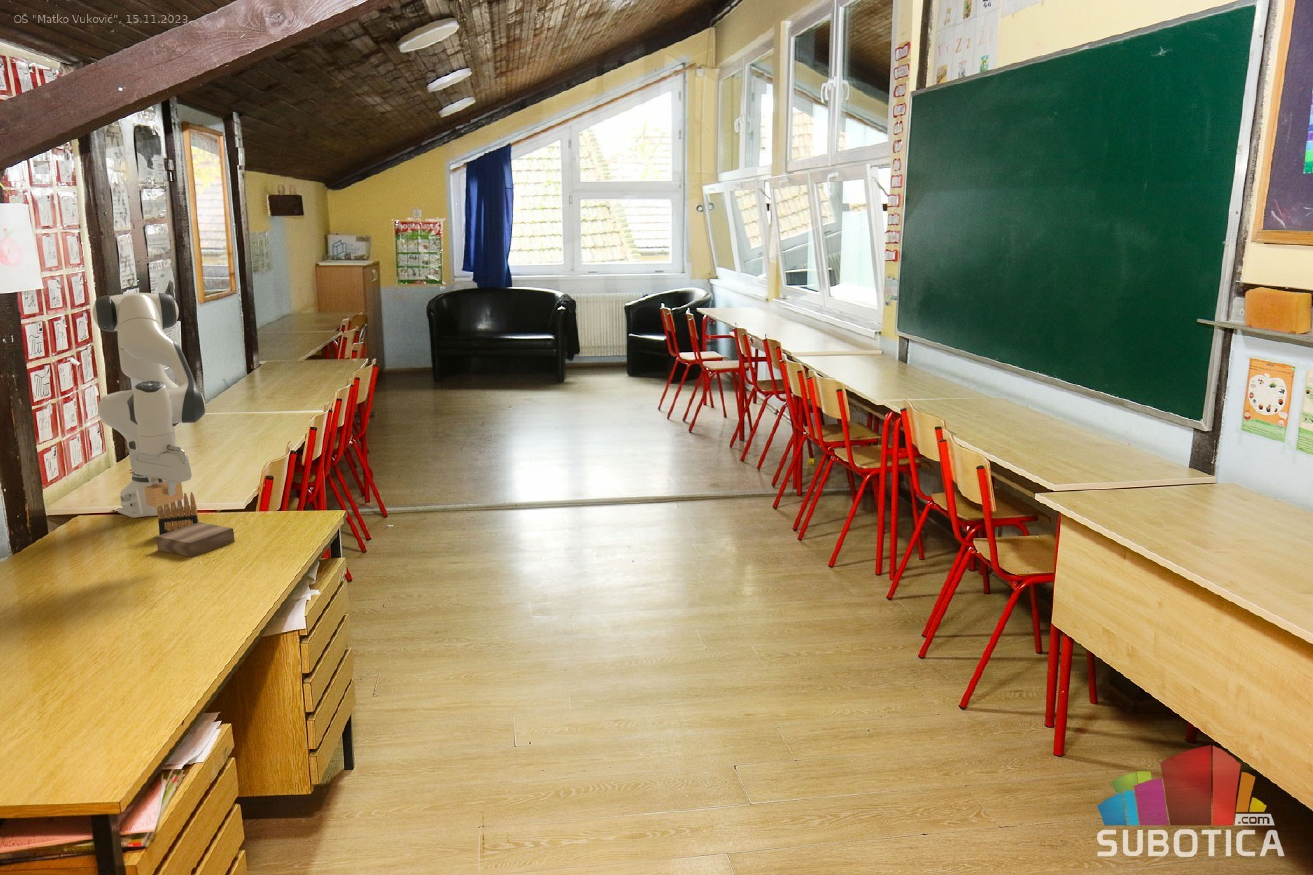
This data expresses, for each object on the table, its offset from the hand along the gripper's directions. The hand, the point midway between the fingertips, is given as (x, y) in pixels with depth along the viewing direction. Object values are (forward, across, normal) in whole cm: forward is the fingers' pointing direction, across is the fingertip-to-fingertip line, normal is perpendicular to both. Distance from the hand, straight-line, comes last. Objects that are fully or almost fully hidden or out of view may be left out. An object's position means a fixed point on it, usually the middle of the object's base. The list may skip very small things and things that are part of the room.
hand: (164, 493), depth 257 cm
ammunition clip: (+19, +18, -15) cm, 30 cm away
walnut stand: (+18, +3, -9) cm, 21 cm away
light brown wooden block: (+2, 0, 0) cm, 2 cm away
